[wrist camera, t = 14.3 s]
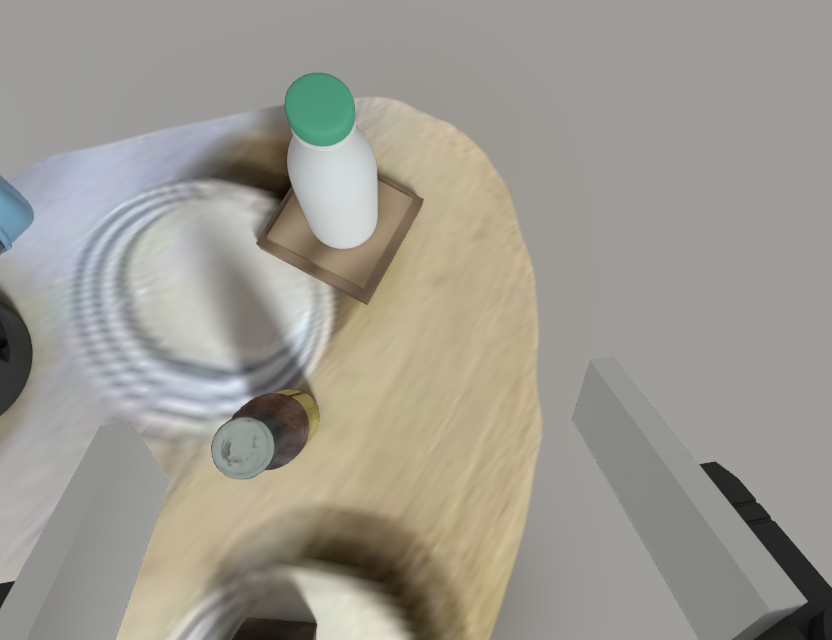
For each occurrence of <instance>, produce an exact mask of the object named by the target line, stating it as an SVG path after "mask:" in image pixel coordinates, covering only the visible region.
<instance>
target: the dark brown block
mask: <svg viewBox="0 0 832 640" xmlns="http://www.w3.org/2000/svg"><path fill="white" fill-rule="evenodd" d="M316 630H317V624H316V623H309V622H291V621H280V620H267V619H254V618H247V619H246V620H245V621H244V622H243V623H242V625H241V626H240V628H239V630H238V631H237V633H236V634H235V636H234V638H233V639H232V640H316Z"/></svg>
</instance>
